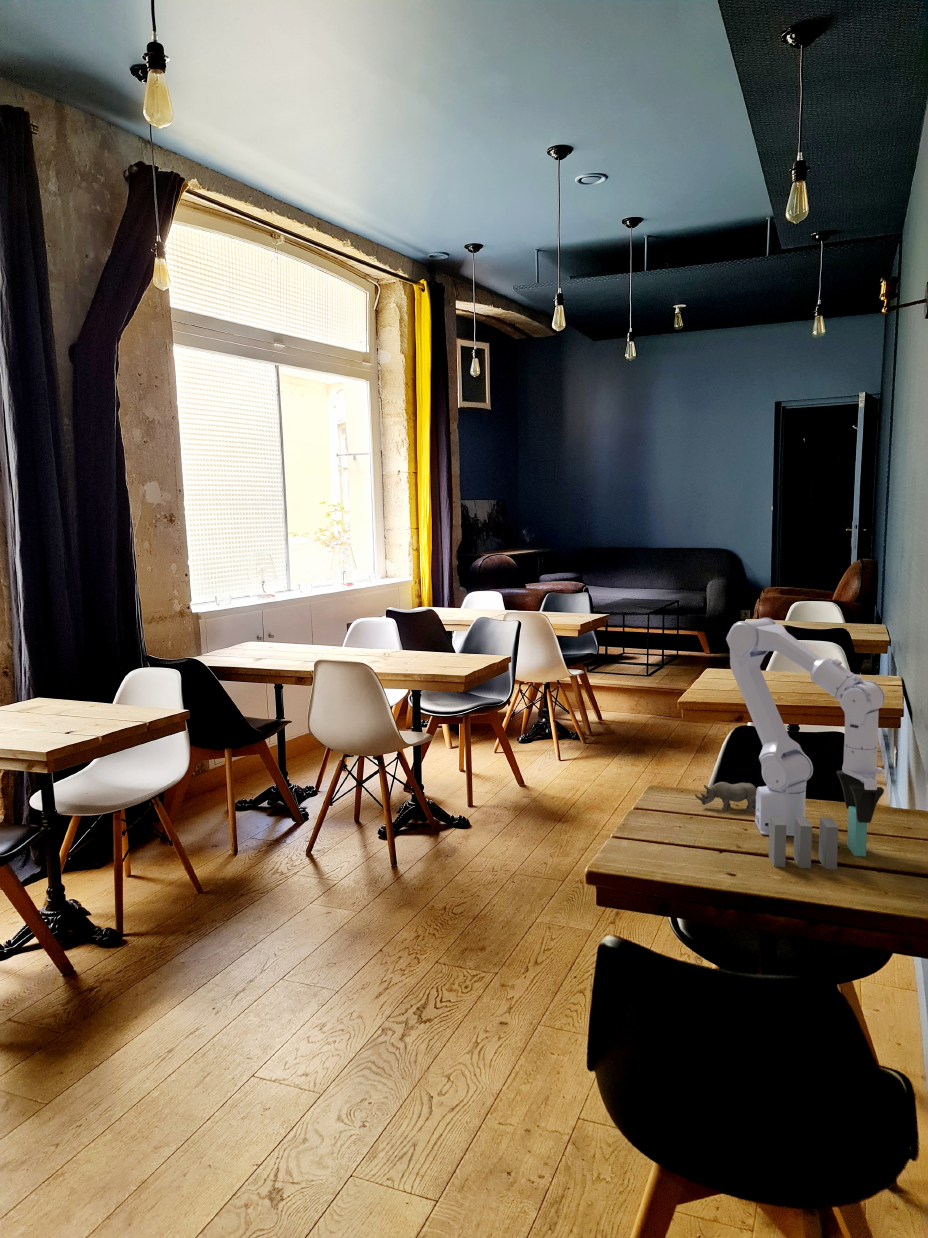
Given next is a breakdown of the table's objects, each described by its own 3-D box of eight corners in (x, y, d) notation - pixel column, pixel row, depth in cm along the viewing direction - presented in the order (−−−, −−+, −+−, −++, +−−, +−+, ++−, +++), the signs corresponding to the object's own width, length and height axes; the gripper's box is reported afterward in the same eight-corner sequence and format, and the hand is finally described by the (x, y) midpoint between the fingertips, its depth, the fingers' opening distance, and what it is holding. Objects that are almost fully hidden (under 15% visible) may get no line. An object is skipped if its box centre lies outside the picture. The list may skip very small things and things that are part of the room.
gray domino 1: (773, 866, 158) (775, 825, 157) (768, 856, 163) (769, 815, 162) (785, 867, 158) (786, 825, 157) (779, 856, 162) (780, 816, 161)
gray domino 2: (799, 868, 157) (800, 826, 156) (793, 857, 162) (794, 816, 161) (810, 868, 157) (812, 826, 156) (804, 857, 162) (805, 816, 161)
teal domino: (854, 856, 162) (856, 815, 161) (847, 845, 167) (848, 806, 166) (865, 856, 162) (867, 815, 161) (858, 846, 167) (859, 806, 166)
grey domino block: (825, 869, 156) (826, 827, 155) (818, 858, 161) (819, 817, 160) (836, 869, 156) (838, 827, 155) (829, 858, 161) (831, 817, 160)
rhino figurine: (693, 804, 192) (693, 778, 192) (756, 806, 190) (757, 780, 190) (695, 810, 188) (696, 784, 188) (760, 812, 186) (761, 786, 186)
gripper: (896, 756, 154) (893, 829, 156) (871, 736, 168) (868, 803, 170) (854, 755, 155) (852, 828, 157) (833, 735, 170) (831, 802, 171)
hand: (858, 815), depth 164 cm, fingers open, 7 cm apart
